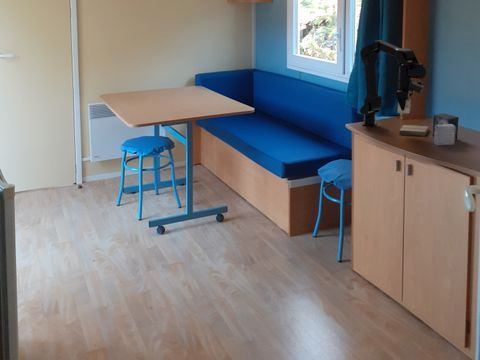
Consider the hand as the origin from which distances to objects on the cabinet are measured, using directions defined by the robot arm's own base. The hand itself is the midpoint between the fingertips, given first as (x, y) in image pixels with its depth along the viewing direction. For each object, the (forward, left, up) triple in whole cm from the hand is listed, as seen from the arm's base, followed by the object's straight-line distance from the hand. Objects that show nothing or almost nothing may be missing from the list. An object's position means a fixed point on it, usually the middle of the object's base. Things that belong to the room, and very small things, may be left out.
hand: (404, 109), depth 302 cm
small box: (+4, +20, -12) cm, 23 cm away
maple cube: (0, 0, -1) cm, 1 cm away
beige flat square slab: (-3, +5, -12) cm, 13 cm away
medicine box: (+16, +21, -12) cm, 29 cm away
